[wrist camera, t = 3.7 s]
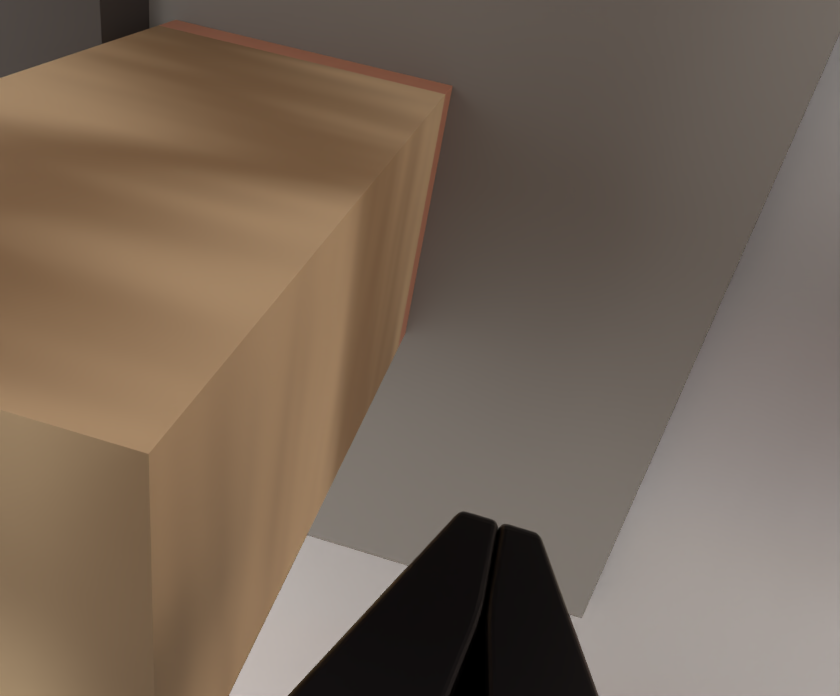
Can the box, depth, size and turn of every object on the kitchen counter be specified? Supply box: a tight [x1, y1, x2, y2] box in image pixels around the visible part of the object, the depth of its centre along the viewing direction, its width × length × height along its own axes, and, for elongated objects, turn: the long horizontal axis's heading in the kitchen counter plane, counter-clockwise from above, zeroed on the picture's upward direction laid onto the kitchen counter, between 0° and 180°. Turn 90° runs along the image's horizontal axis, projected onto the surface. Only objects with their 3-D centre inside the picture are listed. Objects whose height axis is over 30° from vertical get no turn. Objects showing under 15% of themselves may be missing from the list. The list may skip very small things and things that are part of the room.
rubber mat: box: [0, 0, 840, 618], centre depth 15 cm, size 22×18×2 cm
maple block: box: [0, 20, 452, 696], centre depth 11 cm, size 5×5×10 cm
